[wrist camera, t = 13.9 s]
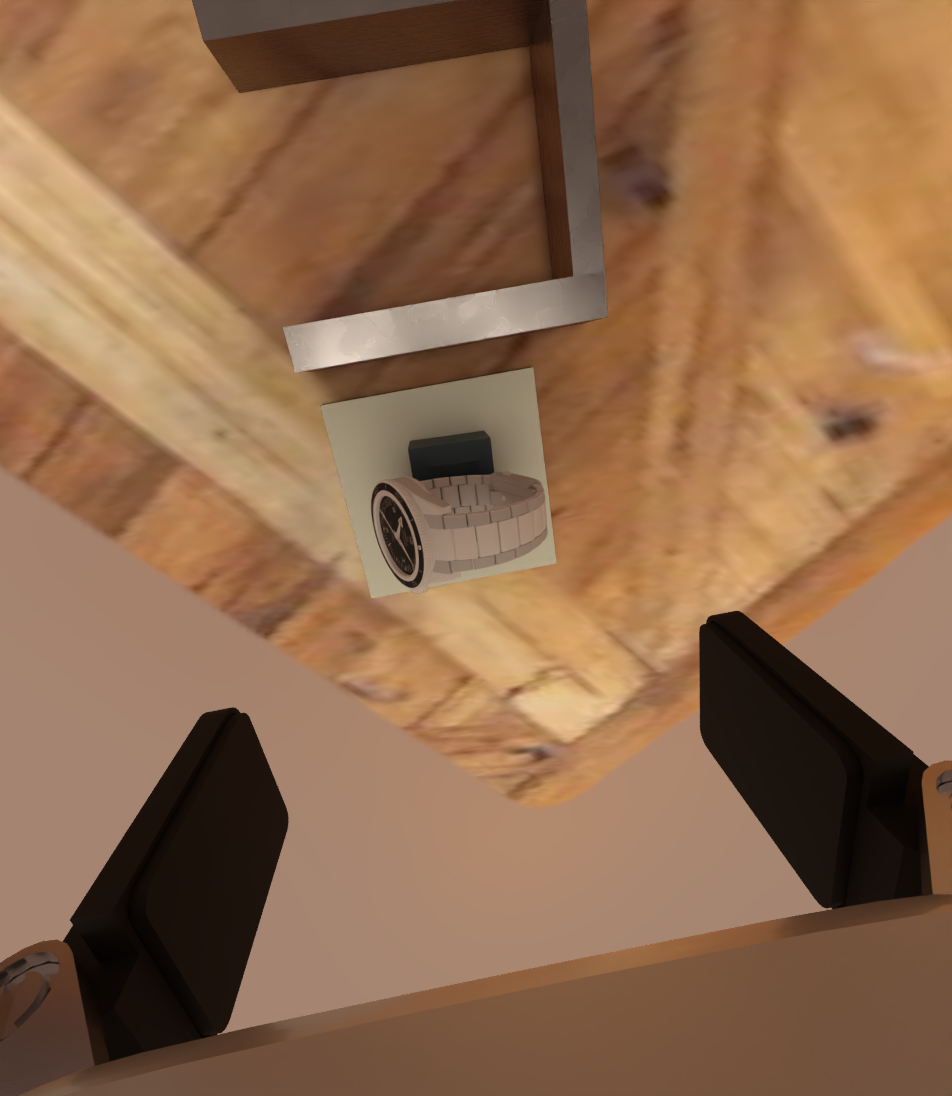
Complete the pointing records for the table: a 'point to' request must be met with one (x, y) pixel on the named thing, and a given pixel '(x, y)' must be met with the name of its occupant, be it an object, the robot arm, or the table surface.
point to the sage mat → (426, 412)
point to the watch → (455, 512)
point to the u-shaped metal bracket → (422, 36)
